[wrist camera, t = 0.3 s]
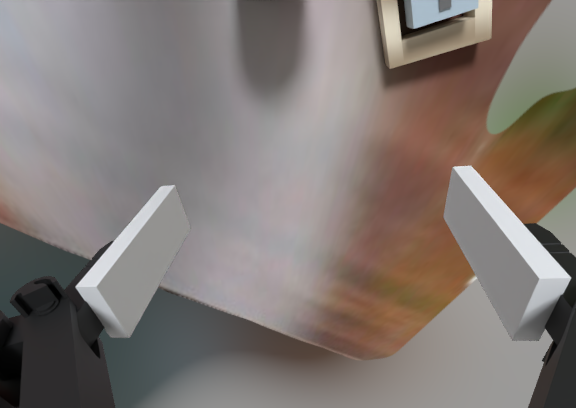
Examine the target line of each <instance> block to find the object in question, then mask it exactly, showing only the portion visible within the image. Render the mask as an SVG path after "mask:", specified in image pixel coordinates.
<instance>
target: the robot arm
mask: <svg viewBox="0 0 576 408" xmlns="http://www.w3.org/2000/svg"><path fill="white" fill-rule="evenodd" d="M444 219H445V221H446V223H447V225H448V226H449V228H450V230H451V232H452V234H453V235H454V237H455V239H456V241H457V243H458V244H459V246H460V248H461V250H462V251H463V253H464V255H465V257H466V259H467V260H468V262H469V264H470V266H471V268H472V269H473V271H474V273H475V275H476V277H477V278H478V280H479V282H480V284H481V286H482V287H483V289H484V291H485V293H486V294H487V296H488V298H489V300H490V302H491V303H492V305H493V307H494V309H495V310H496V312H497V314H498V316H499V318H500V320H501V321H502V323H503V325H504V327H505V328H506V330H507V332H508V334H509V336H510V337H511V339H512V340H523V341H526V340H529V341H535V340H536V341H539V339H540V338H541V335H542V333H543V332H544V330H545V329H546V330H547V331H548V333H549V334H550V336H551V337H552V339H553V342H552V344H551V345H550V347H549V349H548V351H547V352H546V355H545V356H544V358H543V360H542V361H543V362H544V364H543V368H542V370H541V373H540V376H539V379H538V381H537V384H536V387H535V390H534V392H533V395H532V398H531V401H530V404H529V406H528V408H576V257H575V256H574V255H572V254H571V253H569V250H568V249H567V248H566V247H565V246H564V245H561V242H560V241H559V240H558V239H557V238H556V237H555V236H554V235H553V234H552V233H551V232H550V231H548V230H546V229H545V228H543V227H541V226H539V225H538V224H536V223H532V224H523V223H522V222H521V221H520V220H519V219H518V218H517V217H516V216H515V214H514V213H513V212H512V211H511V210H510V209H509V208H508V207H507V205H506V204H505V203H504V202H503V201H502V200H501V199H500V198H499V196H498V195H497V194H496V193H495V192H494V191H493V190H492V189H491V188H490V186H489V185H488V184H487V183H486V182H485V181H484V180H483V179H482V177H481V176H480V175H479V174H478V173H477V172H476V171H475V170H474V169H473V167H472V166H459V167H452V173H451V178H450V184H449V189H448V195H447V200H446V206H445V211H444ZM190 229H191V227H190V225H189V222H188V219H187V216H186V214H185V211H184V208H183V205H182V203H181V200H180V197H179V194H178V192H177V189H176V186H175V185H171V186H161V187H160V188H159V189H158V190H157V191H156V193H155V194H154V195H153V196H152V197H151V198H150V200H149V201H148V202H147V203H146V204H145V206H144V207H143V208H142V209H141V210H140V211H139V213H138V214H137V215H136V216H135V217H134V218H133V220H132V221H131V222H130V223H129V224H128V226H127V227H126V228H125V229H124V230H123V231H122V233H121V234H120V235H119V236H118V237H117V239H116V240H115V241H111V242H110V243H108V244H107V245H105V246H104V247H103V248H101V249H100V250H99V251H98V252H97V253H96V254H95V256H94V257H93V258H92V260H90V261H89V263H88V264H87V265H86V267H85V268H83V269H82V270H81V272H80V273H79V274H78V275H77V276H76V277H75V279H74V280H73V281H72V282H71V283H70V284H69V285H68V287H67V288H66V289H65V290H64V289H63V288H62V287H61V285H60V284H59V283H58V281H57V280H56V279H55V277H51V276H48V277H47V276H46V277H41V278H38V279H35V280H33V281H31V282H29V283H27V284H25V285H24V286H23V287H21V288H20V289H19V290H17V291H16V293H15V294H14V295H13V296H12V298H11V300H10V303H11V304H12V305H13V306H14V307H15V308H16V309H17V310H18V312H20V313H21V315H20V316H15V317H12V318H8V317H7V316H6V315H5V314H4V313H3V312H2V311H1V310H0V408H115V404H114V399H113V394H112V389H111V384H110V379H109V374H108V369H107V364H106V359H105V354H104V349H103V344H102V341H101V340H100V338H99V337H98V336H99V334H100V333H101V331H102V330H103V328H104V329H105V330H106V332H107V333H108V334H109V336H110V337H111V338H130V336H131V334H132V333H133V331H134V329H135V327H136V325H137V324H138V322H139V320H140V318H141V317H142V314H143V313H144V311H145V309H146V308H147V306H148V304H149V302H150V300H151V299H152V297H153V295H154V293H155V292H156V290H157V288H158V286H159V285H160V283H161V281H162V279H163V277H164V276H165V274H166V272H167V270H168V269H169V267H170V265H171V263H172V261H173V260H174V258H175V256H176V254H177V253H178V251H179V249H180V247H181V245H182V244H183V242H184V240H185V238H186V237H187V235H188V233H189V231H190Z"/></svg>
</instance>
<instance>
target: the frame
mask: <svg viewBox="0 0 576 408" xmlns="http://www.w3.org/2000/svg"><path fill="white" fill-rule="evenodd" d="M376 1H377V8H378V15H379V22H380V29H381V37H382V44H383V51H384V58H385V64H386V65H387V66H388V67H389V68H390V69H392V68H395V67H398V66H402V65H405V64H408V63H412V62H415V61H418V60H422V59H425V58H428V57H432V56H435V55H438V54H442V53H445V52H448V51H452V50H455V49H458V48H462V47H465V46H468V45H472V44H475V43H478V42H481V41H485V40H488V39H491V28H492V0H478V8H477V9H474V10H471V11H467V12H464V16H462V17H459V18H456V19H453V20H450V21H447V22H444V23H441V24H438V25H435V26H431V27H428V28H425V29H422V30H419V31H416V32H413V33H410V34H407V35H404V36H401V30H400V21H399V12H398V3H397V0H376Z"/></svg>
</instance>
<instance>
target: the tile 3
mask: <svg viewBox="0 0 576 408" xmlns="http://www.w3.org/2000/svg"><path fill="white" fill-rule="evenodd" d="M404 6H405V16H406V25H407V27H409V28H412V29H415V28H418V27H421V26H424V25H427V24H431V23H434V22H437V21H440V20H443V19H446V18H449V17H452V16H455V15H458V14H461V13H464V12H467V11H471V10H474V9H477V8H478V0H404Z"/></svg>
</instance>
